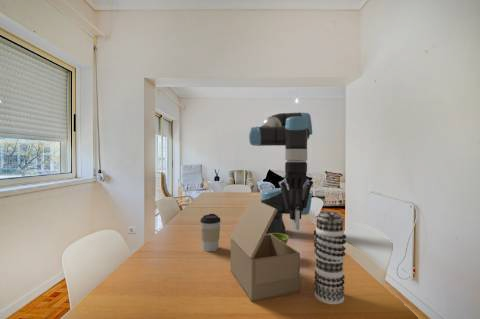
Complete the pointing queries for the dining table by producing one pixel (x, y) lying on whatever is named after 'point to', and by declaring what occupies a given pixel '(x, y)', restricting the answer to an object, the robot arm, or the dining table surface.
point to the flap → (253, 226)
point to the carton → (267, 269)
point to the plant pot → (281, 237)
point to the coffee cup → (210, 232)
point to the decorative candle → (329, 258)
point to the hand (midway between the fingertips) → (295, 228)
